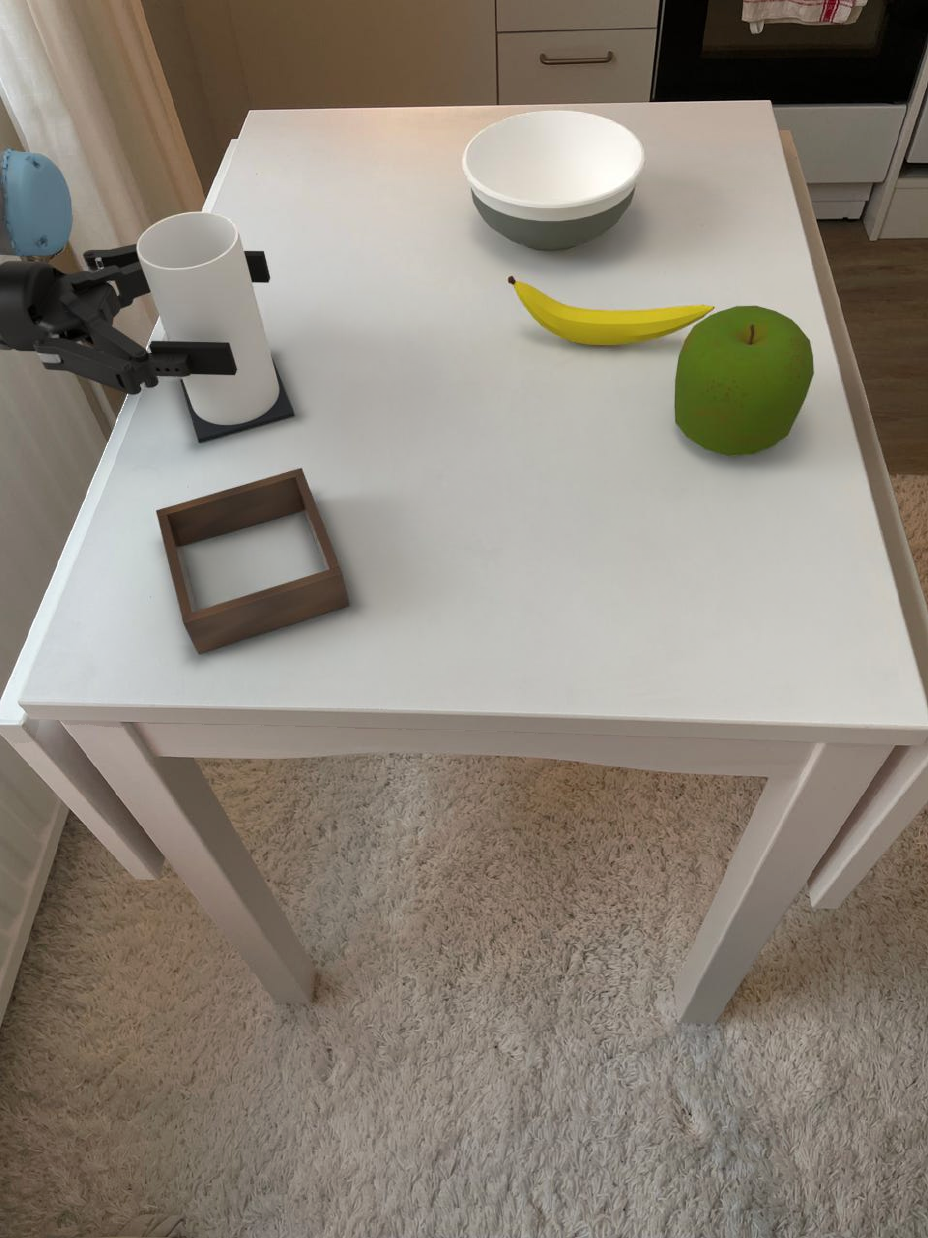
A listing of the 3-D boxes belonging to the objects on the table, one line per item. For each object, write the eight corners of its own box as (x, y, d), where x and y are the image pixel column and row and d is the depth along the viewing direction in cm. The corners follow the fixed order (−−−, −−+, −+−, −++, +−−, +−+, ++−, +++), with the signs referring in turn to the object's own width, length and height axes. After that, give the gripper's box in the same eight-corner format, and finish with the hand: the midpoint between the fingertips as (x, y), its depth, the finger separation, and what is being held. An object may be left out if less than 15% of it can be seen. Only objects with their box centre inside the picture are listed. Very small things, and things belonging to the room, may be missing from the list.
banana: (705, 361, 89) (716, 303, 84) (506, 343, 92) (505, 286, 87) (706, 341, 91) (717, 283, 86) (511, 324, 94) (510, 267, 89)
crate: (198, 654, 72) (183, 623, 69) (170, 542, 79) (155, 510, 76) (350, 605, 74) (342, 573, 71) (310, 501, 81) (301, 467, 78)
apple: (773, 486, 80) (804, 383, 71) (650, 449, 83) (666, 347, 74) (808, 403, 85) (841, 299, 77) (692, 372, 89) (710, 269, 80)
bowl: (450, 196, 108) (446, 123, 102) (609, 171, 110) (615, 97, 103) (485, 292, 97) (482, 217, 91) (661, 263, 99) (671, 187, 92)
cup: (287, 367, 91) (249, 211, 78) (268, 426, 86) (224, 270, 73) (204, 365, 92) (153, 210, 79) (181, 423, 87) (122, 268, 74)
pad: (199, 443, 86) (197, 439, 86) (181, 383, 91) (179, 379, 91) (295, 416, 88) (294, 412, 87) (272, 358, 93) (271, 354, 93)
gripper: (73, 263, 94) (287, 266, 91) (-25, 434, 79) (226, 442, 77) (42, 190, 87) (271, 191, 85) (-70, 361, 73) (201, 368, 71)
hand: (250, 310), depth 81 cm, fingers open, 12 cm apart
